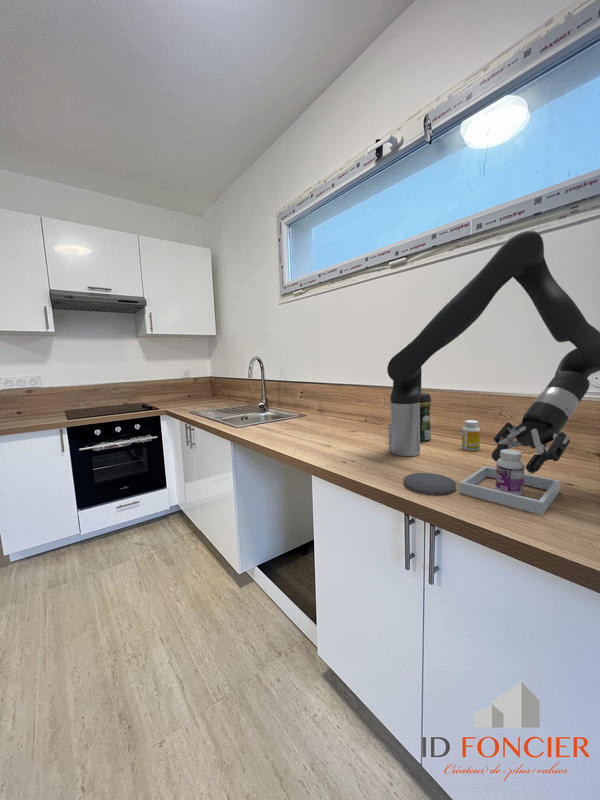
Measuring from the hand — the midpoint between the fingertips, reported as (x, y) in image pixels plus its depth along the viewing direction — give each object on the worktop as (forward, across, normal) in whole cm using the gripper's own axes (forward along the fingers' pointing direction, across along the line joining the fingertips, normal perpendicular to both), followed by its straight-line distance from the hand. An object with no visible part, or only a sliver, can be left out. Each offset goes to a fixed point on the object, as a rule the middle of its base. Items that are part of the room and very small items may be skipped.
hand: (510, 465), depth 72 cm
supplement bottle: (-9, -31, +18) cm, 37 cm away
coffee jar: (-4, -50, +13) cm, 52 cm away
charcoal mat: (+14, -10, -5) cm, 18 cm away
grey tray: (+5, 0, +4) cm, 6 cm away
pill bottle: (+5, 0, +4) cm, 7 cm away
